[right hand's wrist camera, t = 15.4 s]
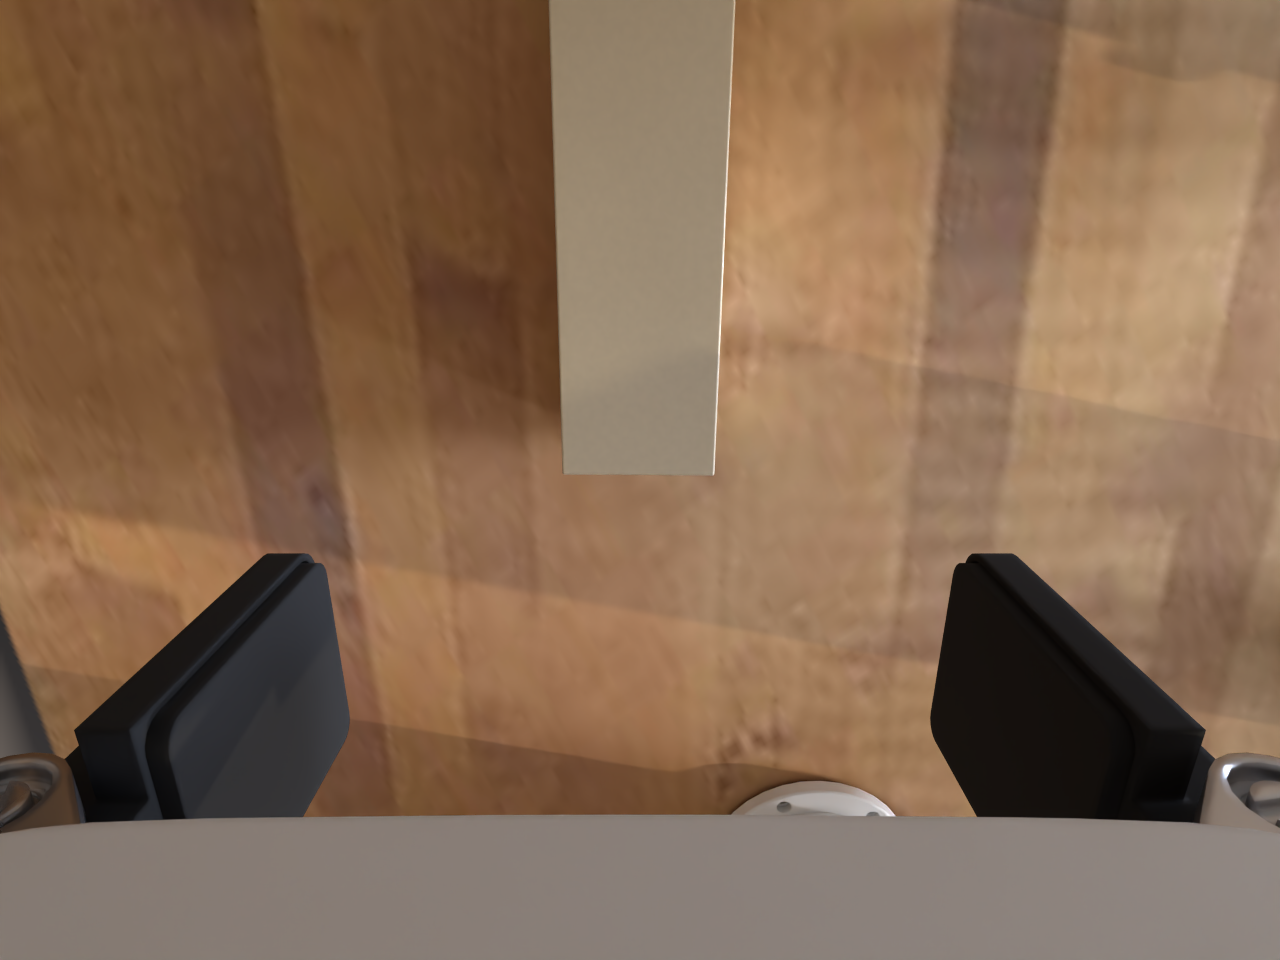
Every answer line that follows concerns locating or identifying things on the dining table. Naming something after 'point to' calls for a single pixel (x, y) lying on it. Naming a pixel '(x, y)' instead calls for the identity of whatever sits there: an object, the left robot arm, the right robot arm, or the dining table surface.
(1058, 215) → the dining table surface
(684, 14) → the cabinet
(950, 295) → the dining table surface
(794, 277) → the dining table surface
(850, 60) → the dining table surface
